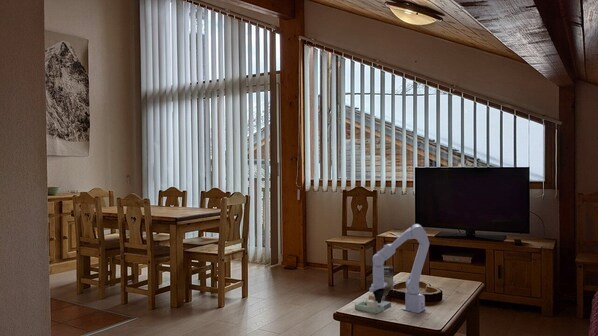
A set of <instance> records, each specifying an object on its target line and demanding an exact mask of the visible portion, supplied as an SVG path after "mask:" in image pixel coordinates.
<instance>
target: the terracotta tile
mask: <svg viewBox="0 0 598 336" xmlns="http://www.w3.org/2000/svg"><path fill="white" fill-rule="evenodd" d="M368 300H374V301H376V299H375V296H374V294H373V293H371V294H368Z"/></svg>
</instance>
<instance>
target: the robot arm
mask: <svg viewBox="0 0 598 336" xmlns="http://www.w3.org/2000/svg"><path fill="white" fill-rule="evenodd" d="M428 237H429V236H428V235H427V231H426V230H425V229H424V228H423V226H422V225H421V224H419V223H414V224H412V225H411V227H408V228H407V229H406V230H405V231H403V232H402V233H401V234H400V235H399V236H398V237H397V238H396V239H395V240H394V241H393V242H392V243H387V244H384V245H383V248H381V249H380V250H378V251H377V252H376V253H375V254H374V255H373V256H372V283H371V285H370V287H369V288H368V289H369V293H371V294H374V296H375V299H376V301H378V303H381V301H383V297H384V296H383V294H384V292H385V289H383V288H384V287H387V283H386V282H384V268H383V266H384V265H385V261H388V259H390V257H392V256H393V255H394V254H395V253H396V249H397V248H399V247H400V246H401V245H402V244H403V243H405V242H406V241H407V240H413V239H415V240H417V243H419V245H418V248H417V252H416V255H415V258H414V262H413V264H412V269H411V271H410V274H409V275H408V278H406V280H405V287H406V289H405V291H404V294H405V295H404V296H405V298H404V300H405V301H404V303H405V304H404V307H402V308H401V310H403V311H407V312H412V313H415V314H420V313H422V312H424V311H426V302H425V301H426V298H425V295H424V294H422V293H420V281H421V274H422V271H423V267H424V264H425V261H426V258H427V254H428V252H429V247H430V243H431V242H430V241H429V238H428Z"/></svg>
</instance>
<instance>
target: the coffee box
mask: <svg viewBox="0 0 598 336" xmlns="http://www.w3.org/2000/svg"><path fill="white" fill-rule="evenodd" d="M383 268H384V282H386V283H387V287H384V288H383V289H385V292H384V294H383V297H388V296H387V295H388V292H389V291H390V290H393V291H394V267H393V266H392V265H383Z"/></svg>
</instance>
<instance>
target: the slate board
mask: <svg viewBox="0 0 598 336" xmlns="http://www.w3.org/2000/svg"><path fill="white" fill-rule="evenodd" d="M367 301H368V300H366V301H364V305H367ZM383 305H384V310H387V309H388V308H390V307H392V302H390V301H386V300H382V301H381V303H378V308H379V307H381V306H383Z"/></svg>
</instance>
